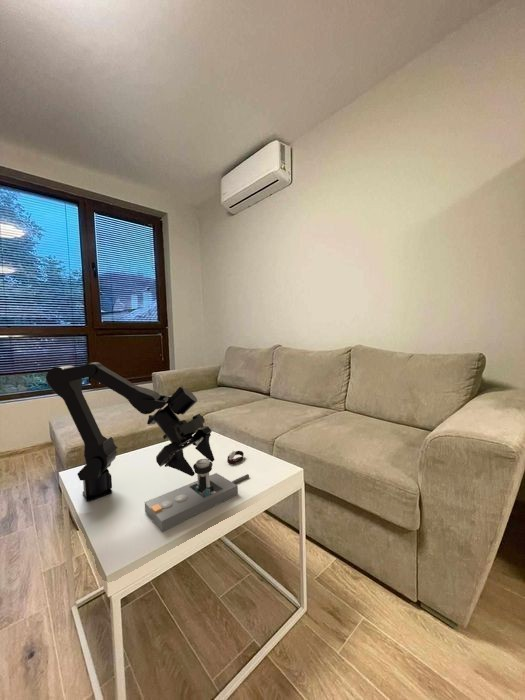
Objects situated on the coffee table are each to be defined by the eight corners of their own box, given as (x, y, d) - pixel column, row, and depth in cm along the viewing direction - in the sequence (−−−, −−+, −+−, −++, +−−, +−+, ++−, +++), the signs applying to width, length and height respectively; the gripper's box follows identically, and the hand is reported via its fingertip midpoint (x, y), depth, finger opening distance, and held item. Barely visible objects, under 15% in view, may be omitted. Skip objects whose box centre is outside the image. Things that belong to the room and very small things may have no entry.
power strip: (162, 531, 66) (161, 519, 65) (145, 511, 74) (144, 500, 74) (260, 483, 86) (259, 473, 86) (238, 471, 94) (238, 462, 94)
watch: (236, 455, 107) (236, 446, 107) (247, 458, 105) (246, 448, 105) (223, 463, 101) (223, 453, 100) (234, 466, 98) (234, 456, 98)
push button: (221, 494, 81) (219, 459, 80) (210, 504, 76) (208, 467, 75) (202, 489, 83) (200, 456, 83) (190, 499, 79) (188, 463, 78)
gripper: (161, 416, 73) (198, 464, 68) (205, 400, 90) (237, 438, 85) (141, 443, 76) (175, 490, 72) (186, 423, 93) (216, 460, 89)
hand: (204, 467), depth 80 cm, fingers open, 9 cm apart
